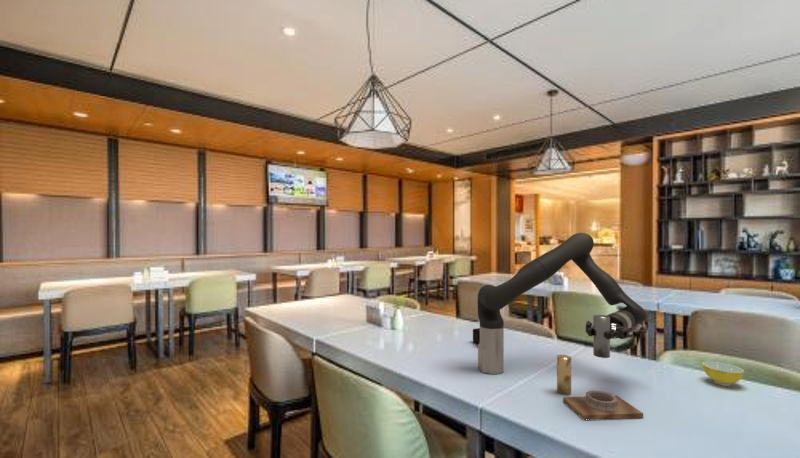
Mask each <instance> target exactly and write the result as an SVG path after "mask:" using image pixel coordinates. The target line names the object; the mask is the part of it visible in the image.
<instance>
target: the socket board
mask: <svg viewBox="0 0 800 458" xmlns="http://www.w3.org/2000/svg"><path fill="white" fill-rule="evenodd" d="M562 400H563V401H562V402H563V403H564V404H565V405H566V404H567V405H568V406H569V407H568V406H567V405H566V406H567V407H568V408H569V409H571V410H572V411H573V410H574V411H575V412H576V413H577V414H576V413H575V412H574V411H573V412H574V413H575V414H576V415H577V416H579V415H580V416H581V417H582V418H583V419H584V420H585V421H591V420H590V419H593V420H592V421H595V420H594V419H605V420H606V419H610V420H632V419H638V420H639V419H644V412H642V411H641V410H639V409H638V408H636V407H635V406H633V405H631V404H630V403H629V402H627V401H625V400H624V399H622V398H621V397H620V396H618V395H613V394H611V393H609V392H607V391H600V390H589V391H587V392H585V396H566V397H565V396H563V398H562ZM580 416H579V417H580ZM581 417H580V418H581ZM582 418H581V419H582ZM583 419H582V420H583ZM586 419H587V420H586ZM588 419H589V420H588ZM584 420H583V421H584ZM605 420H604V421H605Z"/></svg>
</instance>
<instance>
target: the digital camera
mask: <svg viewBox="0 0 800 458" xmlns="http://www.w3.org/2000/svg"><path fill="white" fill-rule="evenodd" d="M472 344H474V345H477V346H478V344H480V327H478V328H472Z"/></svg>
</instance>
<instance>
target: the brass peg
mask: <svg viewBox="0 0 800 458" xmlns="http://www.w3.org/2000/svg"><path fill="white" fill-rule="evenodd" d="M556 393H558V394H560V395H562V396H570V395H572V357H571V356H569V355H565V354H557V355H556Z"/></svg>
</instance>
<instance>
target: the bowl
mask: <svg viewBox="0 0 800 458" xmlns="http://www.w3.org/2000/svg"><path fill="white" fill-rule="evenodd" d="M701 365H702V369H703V371H704V372H705V374H706V375H707V377H709V378H710V379H711V380H713V381H714V384H716V385H719V386H722V387H723V386H724V387H730V386H732V384H736V383H738V382H739V381H740V380H742V378H743V376H744V374H745V373H744V371H745V370H744V369H743V368H741V367H740V366H739V367H738V366H736V365H733V364H728V363H724V362H718V361H703V362H702V364H701Z"/></svg>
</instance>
